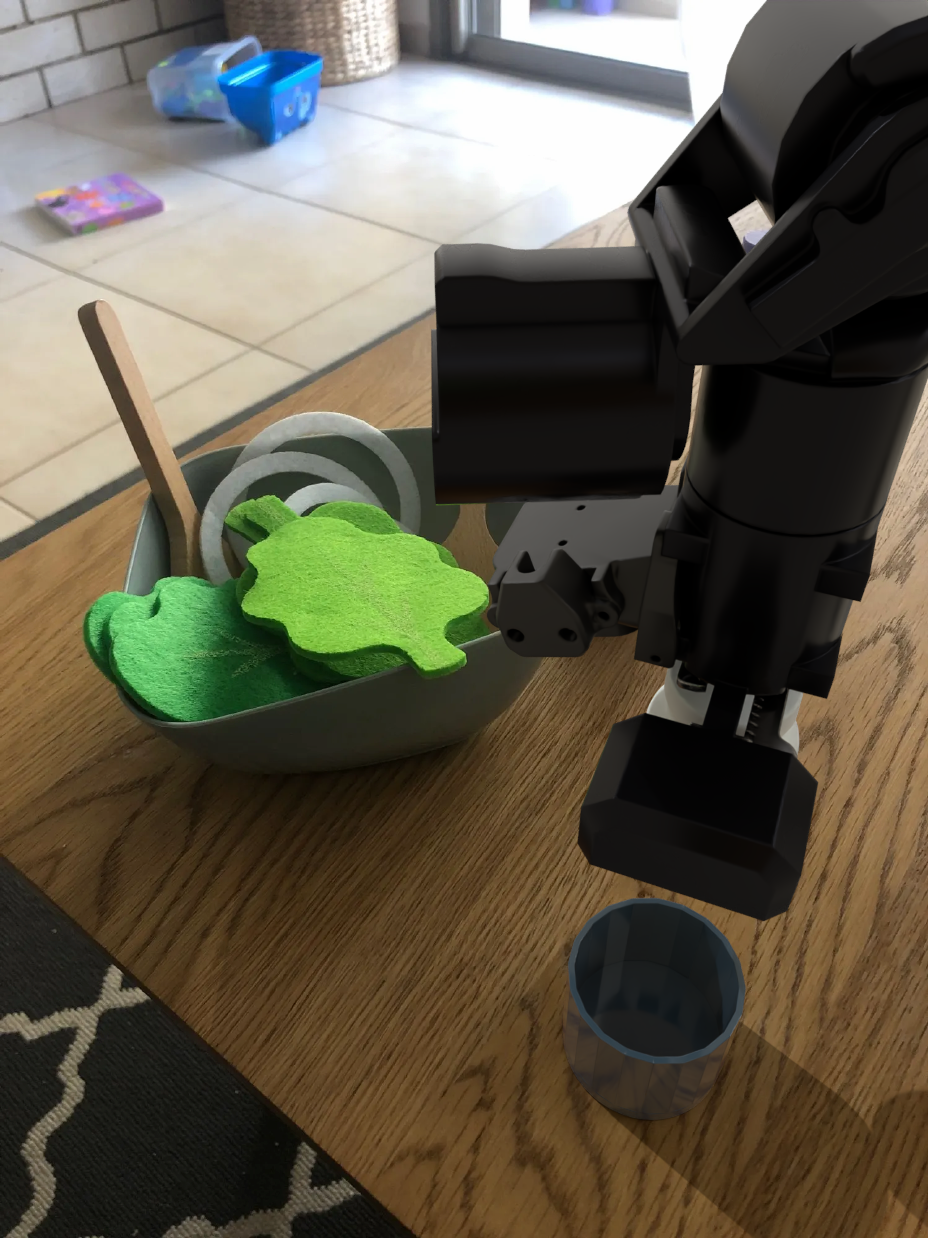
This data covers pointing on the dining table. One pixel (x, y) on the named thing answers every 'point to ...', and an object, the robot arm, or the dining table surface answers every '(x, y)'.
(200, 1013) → the dining table surface
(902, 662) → the dining table surface
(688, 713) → the pill bottle
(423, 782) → the dining table surface
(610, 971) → the pot
